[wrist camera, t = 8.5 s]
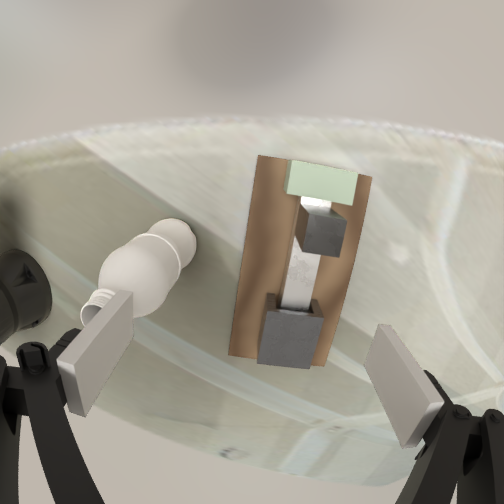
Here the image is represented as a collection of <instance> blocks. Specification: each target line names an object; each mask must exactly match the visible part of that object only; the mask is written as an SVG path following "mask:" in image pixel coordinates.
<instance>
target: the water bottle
mask: <svg viewBox="0 0 504 504" xmlns="http://www.w3.org/2000/svg"><path fill="white" fill-rule="evenodd" d="M195 251H196V237H195V235H194V234H193V233H192V231H191V229H190V227H189V226H188V224H186V223H185V222H183V221H181V220H179V219H174V218H169V219H164V220H161V221H159V222H157V223H155V224H154V225H153V226H152V227H151V228H150V229H149V230H148V232H147V233H144V234H140V235H138V236H136V237H135V238H133V239H132V240H131V241H130V242H128V243H127V244H125V245H124V246H122V247H120V248H117V249H116V250H114V251H113V252H112V253H111V254H110V255H109V256H108V257H107V258H106V260H105V261H104V263H103V265H102V267H101V270H100V274H99V281H98V289H97V290H95V291H94V292H93V293H92V295H91V297H90V299H89V301H88V302H87V303H86V304H85V305H84V306H83V308H82V310H81V316H80V318H81V321H82V324H83V325H84V327H85V326H86V325H87V324H88V323H89V322H90V321H91V320H92V319H93V318H94V316H95V315H96V314H97V313H98V312H99V311H100V310H101V309H102V308H103V307H104V306H105V304H106V303H107V302H108V301H109V300H110V299H111V298H112V297H113V296H114V295H115V294H116V293H117V292H118V291H119V290H126V291H131V292H133V318H138V317H143V316H146V315H149V314H150V313H152V312H154V311H155V310H157V309H158V308H159V307H160V306H161V305H162V303H163V302H164V300H165V299H166V297H167V294H168V292H169V291H170V289H171V288H172V286H173V285H174V284H175V283H176V281H177V280H178V278H179V275H180V272H181V269H182V268H184V267H185V266H187V265H188V264H189V263H190V262H191V260H192V259H193V257H194V254H195Z"/></svg>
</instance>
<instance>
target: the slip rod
mask: <svg viewBox="0 0 504 504" xmlns="http://www.w3.org/2000/svg"><path fill="white" fill-rule="evenodd" d="M346 225H347V220H346V219H345V218H344V217H342V216H341V215H339V214H338V213H337V212H335V211H334V210H333V209H331V201H325V200H320V199H314V198H309V197H303V196H298V199H297V205H296V210H295V216H294V222H293V227H292V233H291V238H290V243H289V249H288V254H287V259H286V264H285V270H284V275H283V280H282V285H281V290H280V295H279V300H278V305H277V309H282V310H289V311H297V312H305V313H308V309H309V304H310V300H311V296H312V292H313V288H314V283H315V279H316V275H317V270H318V266H319V261H320V257H321V255H324V256H330V257H337V258H339V257H340V253H341V248H342V244H343V239H344V235H345V230H346Z"/></svg>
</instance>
